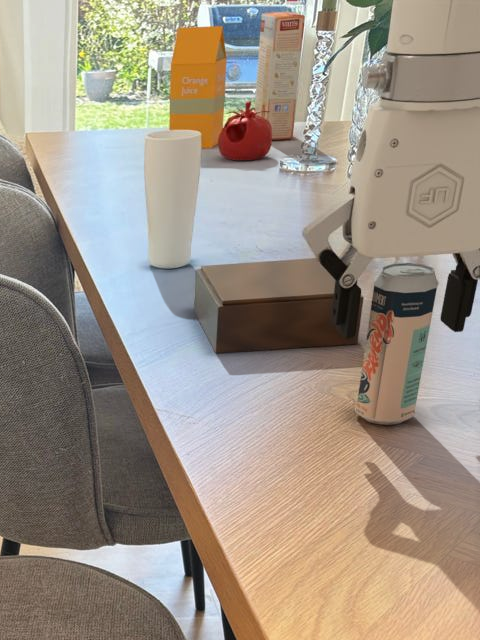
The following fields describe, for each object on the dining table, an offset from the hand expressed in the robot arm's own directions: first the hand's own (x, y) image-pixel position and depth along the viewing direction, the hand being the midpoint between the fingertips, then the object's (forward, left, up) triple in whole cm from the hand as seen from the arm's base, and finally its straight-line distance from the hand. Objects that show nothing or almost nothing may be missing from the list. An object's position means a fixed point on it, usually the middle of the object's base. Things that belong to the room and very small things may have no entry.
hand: (397, 329), depth 79 cm
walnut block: (+4, -25, -7) cm, 26 cm away
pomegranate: (-12, -121, -8) cm, 122 cm away
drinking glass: (+11, -52, -8) cm, 54 cm away
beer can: (0, 0, -8) cm, 8 cm away
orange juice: (-6, -139, -8) cm, 139 cm away
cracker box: (-22, -143, -8) cm, 145 cm away
